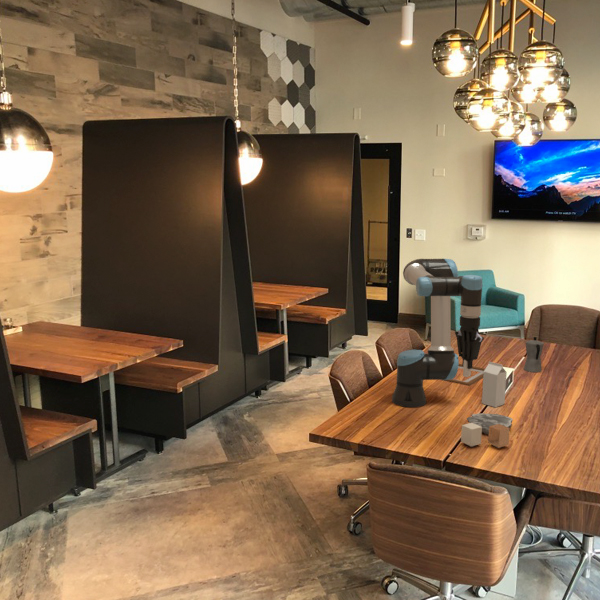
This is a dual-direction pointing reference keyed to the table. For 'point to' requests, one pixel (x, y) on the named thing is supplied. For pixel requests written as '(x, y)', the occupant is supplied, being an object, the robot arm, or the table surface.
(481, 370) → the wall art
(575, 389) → the table surface
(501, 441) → the tan brown block
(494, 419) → the brain slice
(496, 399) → the milk carton
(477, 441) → the cream sugar cube
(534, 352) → the coffeepot
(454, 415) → the table surface
